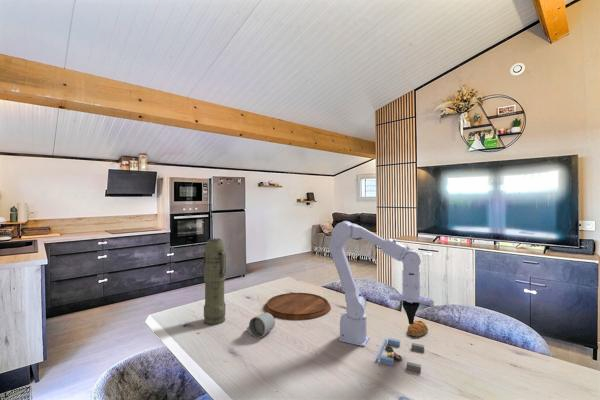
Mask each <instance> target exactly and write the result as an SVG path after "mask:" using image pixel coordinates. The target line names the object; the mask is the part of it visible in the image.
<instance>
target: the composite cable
mask: <svg viewBox="0 0 600 400" xmlns="http://www.w3.org/2000/svg"><path fill="white" fill-rule="evenodd" d="M384 348H385V350H386V351H387V354H386V357H390V358H394V360H396V361H397V362H402V361H403V358H402V355H399V354H398V353H396V352H395V351H394V349H393V347H392V346H391V345H390V346H389V345H385V347H384Z"/></svg>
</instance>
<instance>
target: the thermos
mask: <svg viewBox="0 0 600 400" xmlns="http://www.w3.org/2000/svg"><path fill="white" fill-rule="evenodd" d="M203 260H204V261H203V281H204V306H203V318H204V321H203V324H205V325H207V326H218V325H221V324H223V323H224V322H225V321H226V311H227V310H226V306H227V305H226V302H225V281H226V272H227V254H226V252H225V245H224V242H223V240H222V239H221V238H209V239H208V240H206V244H205V250H204V252H203Z"/></svg>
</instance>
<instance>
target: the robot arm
mask: <svg viewBox="0 0 600 400" xmlns="http://www.w3.org/2000/svg"><path fill="white" fill-rule="evenodd" d="M350 238H351V239H362V240H365V241H367V242H369V243H370V244H373V245H375V246H376V247H378V248H380V250H381V252H382V253H383V254H385V255H386V256H389V257H390V258H392V259H394V260H396V261H398V262H401V263H402V264H403V266H402V274H401V276H402V277H401V278H402V284H401V285H402V291H401V292H402V293H391V292H390V293H389V295H388V296H389V298H388V299H389V301H398V302H402V304H401V305H402V308H403V309H404V311H405V313H406V317H407V320H408V321H407V322H408V324H409V325H410V324H412V325H413V323H414V321H415V317H416V314H417V311H418V310H419V307H420V305H424V306H430V307H434V306H435V299H434V298H429V297H426V296H422V295H421V289H420V288H421V283H420V282H421V277H420V275H421V273H420V272H421V271H420V265H421V262H422V261H421V257H420V255H419V253H418V252H417V251H416V250H415V249H414V248H410V246H408V245H403V244H401V243H399V242H398V240H397V239H395V238H393V239H392V238H387V239H384V238H382V237H381V236H379V235H377V234H375V233H374V232H372V231H370V230H368V229H367V228H365V227H363V226H361V225H359V224H356V223H353V222H351V221H348V220H343V221H342V222H338V223H336V225H335V226H334V227H333V229H332V230H331V237H330V241H329V244H328V247H329V251H330V254H331V258H332V260H333V262H334V266H335V269H336V271H337V274H338V276H339V280H340V282H341V286H342V288H343V291H344V299H345V303H346V308H345V310H346V313H345V312H344V313H342V314H341V316H340V318H339V319H340V320H339V339H338V341H340V342H343V343H346V344H347V343H348V344H351V345H357V346H360V347H366V344H367V343H368V341H369V340H370V335H367V313H366V311H365V308H366V307H367V299H366V298H365V296H363V295H362V293H361V290H360V289H359V288H358V285H357V283H356V280H355V277H354V275H353V272H352V269H351V267H350V263H349V260H348V258H347V257H348V256H347V255H346V252H345V249H344V247H345V245H346V243H347V241H348V239H350Z"/></svg>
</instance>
